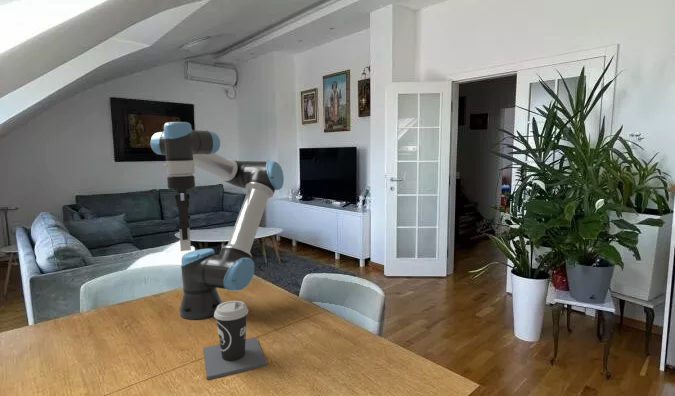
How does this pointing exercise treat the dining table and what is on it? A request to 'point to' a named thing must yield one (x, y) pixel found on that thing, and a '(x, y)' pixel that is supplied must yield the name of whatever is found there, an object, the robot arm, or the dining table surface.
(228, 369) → the mat
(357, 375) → the dining table surface
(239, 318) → the coffee cup
